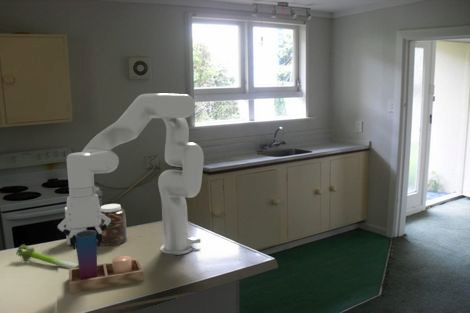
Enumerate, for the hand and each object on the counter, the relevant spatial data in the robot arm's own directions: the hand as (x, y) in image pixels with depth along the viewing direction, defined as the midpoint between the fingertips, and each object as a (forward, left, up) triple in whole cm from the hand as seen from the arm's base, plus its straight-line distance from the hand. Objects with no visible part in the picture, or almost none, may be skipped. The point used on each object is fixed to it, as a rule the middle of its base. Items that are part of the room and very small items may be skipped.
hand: (86, 246), depth 139 cm
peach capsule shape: (-11, 0, -12) cm, 16 cm away
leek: (+13, -25, -14) cm, 32 cm away
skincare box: (+3, -47, -13) cm, 49 cm away
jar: (-11, -41, -13) cm, 45 cm away
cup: (0, 0, -11) cm, 11 cm away
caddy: (-5, 0, -13) cm, 14 cm away
